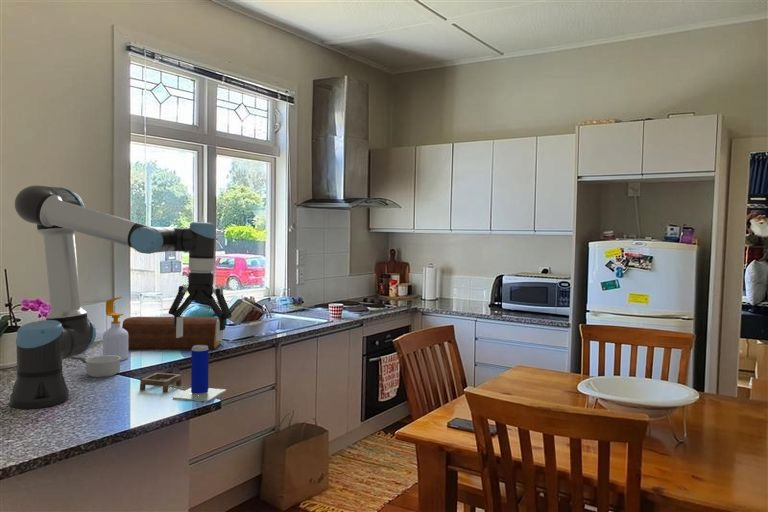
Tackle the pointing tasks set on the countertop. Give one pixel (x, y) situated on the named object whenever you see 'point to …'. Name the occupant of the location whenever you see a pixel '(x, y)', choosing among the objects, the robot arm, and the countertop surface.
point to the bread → (170, 333)
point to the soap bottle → (115, 335)
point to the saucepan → (101, 365)
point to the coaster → (210, 394)
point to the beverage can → (199, 369)
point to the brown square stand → (156, 381)
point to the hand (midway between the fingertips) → (199, 338)
